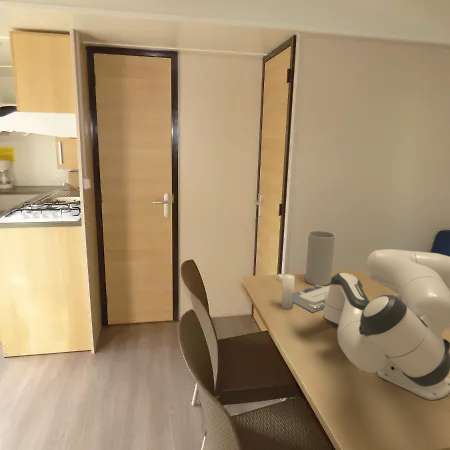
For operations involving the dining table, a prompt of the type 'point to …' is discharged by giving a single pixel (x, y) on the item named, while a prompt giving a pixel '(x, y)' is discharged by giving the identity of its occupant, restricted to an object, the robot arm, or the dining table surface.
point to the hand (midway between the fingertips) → (306, 289)
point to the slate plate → (296, 301)
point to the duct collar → (307, 290)
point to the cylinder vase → (319, 257)
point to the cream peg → (287, 290)
